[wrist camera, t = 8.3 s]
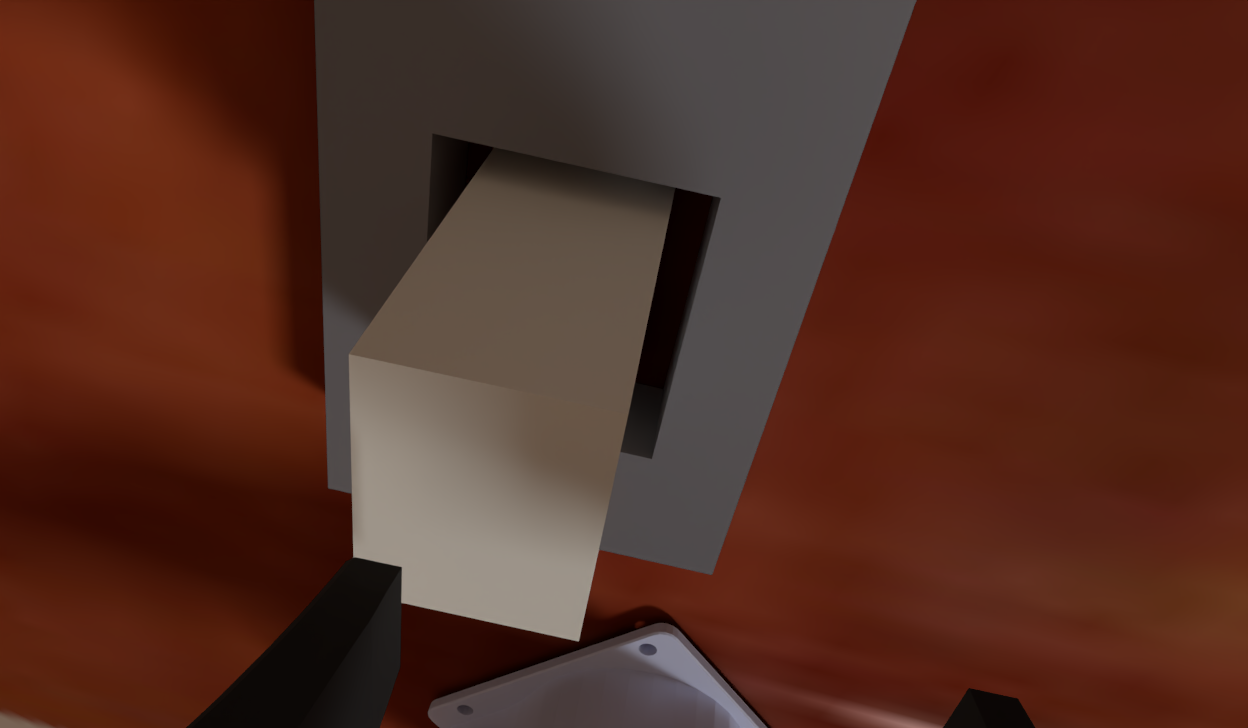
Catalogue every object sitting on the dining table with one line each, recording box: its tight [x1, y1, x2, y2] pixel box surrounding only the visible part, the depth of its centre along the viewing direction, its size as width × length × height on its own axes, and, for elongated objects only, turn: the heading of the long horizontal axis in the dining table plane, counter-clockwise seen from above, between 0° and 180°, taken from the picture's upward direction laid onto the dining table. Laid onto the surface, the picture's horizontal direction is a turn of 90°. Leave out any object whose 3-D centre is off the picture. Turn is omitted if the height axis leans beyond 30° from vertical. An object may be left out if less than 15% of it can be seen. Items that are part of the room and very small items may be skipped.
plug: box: [349, 147, 675, 641], centre depth 15 cm, size 4×4×8 cm
